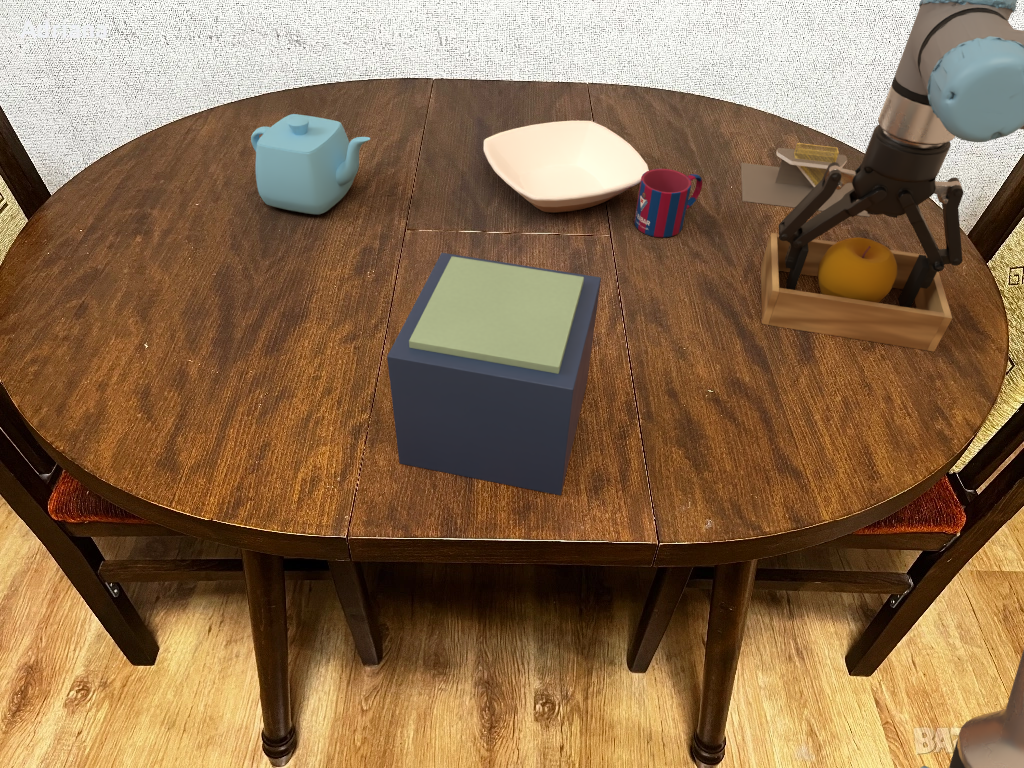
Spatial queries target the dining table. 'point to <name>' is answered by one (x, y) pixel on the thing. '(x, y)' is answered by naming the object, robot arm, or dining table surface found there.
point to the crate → (490, 403)
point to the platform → (792, 177)
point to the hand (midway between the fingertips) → (845, 297)
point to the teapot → (305, 163)
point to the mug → (664, 201)
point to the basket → (852, 304)
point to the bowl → (565, 164)
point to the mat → (500, 314)
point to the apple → (857, 270)
